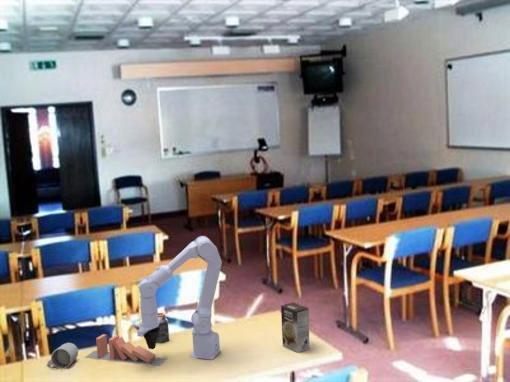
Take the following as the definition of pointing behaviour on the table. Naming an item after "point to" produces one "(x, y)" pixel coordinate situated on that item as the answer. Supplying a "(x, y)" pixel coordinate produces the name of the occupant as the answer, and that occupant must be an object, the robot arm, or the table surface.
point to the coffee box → (295, 327)
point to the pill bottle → (163, 329)
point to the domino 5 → (143, 354)
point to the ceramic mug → (63, 355)
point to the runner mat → (127, 359)
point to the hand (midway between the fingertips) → (151, 348)
